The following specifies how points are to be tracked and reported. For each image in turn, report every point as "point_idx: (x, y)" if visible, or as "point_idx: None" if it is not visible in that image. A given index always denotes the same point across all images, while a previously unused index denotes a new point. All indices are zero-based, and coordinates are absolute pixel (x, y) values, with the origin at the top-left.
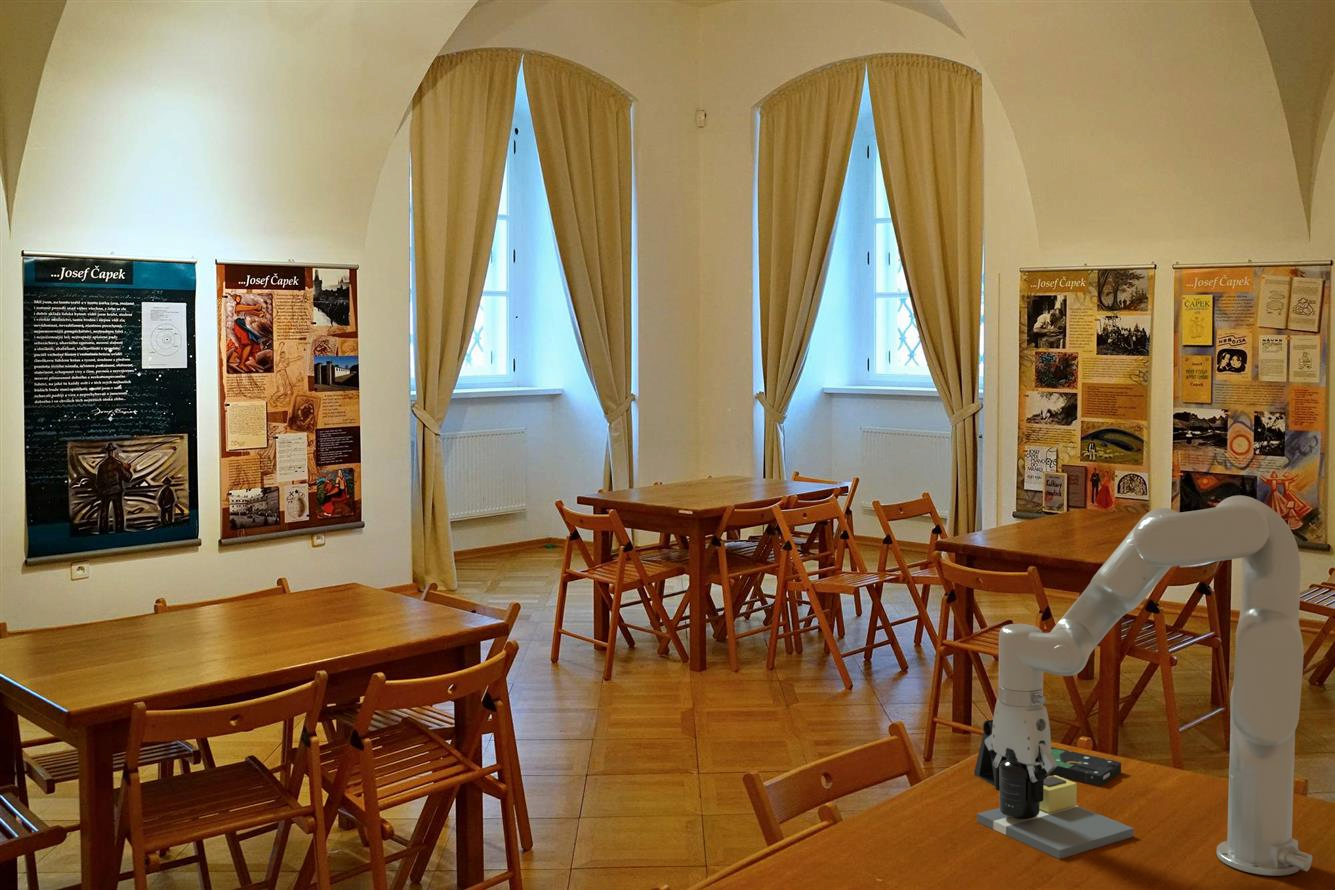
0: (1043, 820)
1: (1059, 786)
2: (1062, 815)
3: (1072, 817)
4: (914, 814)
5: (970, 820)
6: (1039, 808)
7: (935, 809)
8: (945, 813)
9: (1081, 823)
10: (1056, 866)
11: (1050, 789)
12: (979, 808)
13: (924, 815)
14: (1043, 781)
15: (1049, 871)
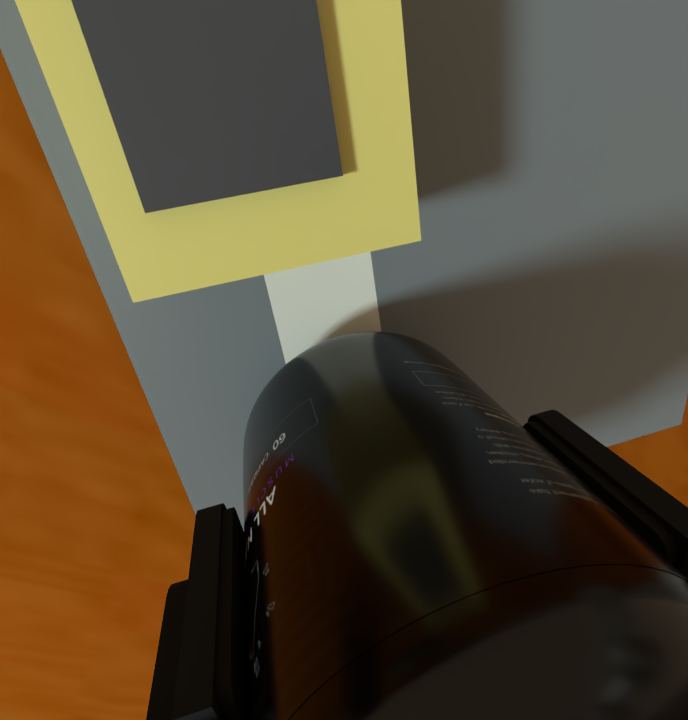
0: (425, 309)
1: (373, 29)
2: (414, 140)
3: (467, 94)
4: (62, 710)
5: (191, 550)
6: (453, 363)
7: (9, 639)
8: (75, 615)
9: (563, 114)
10: (673, 441)
11: (402, 203)
12: (28, 461)
13: (83, 684)
14: (684, 506)
15: (679, 477)
